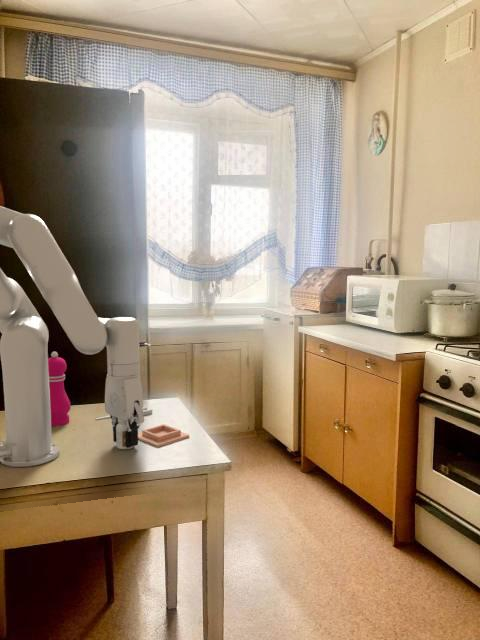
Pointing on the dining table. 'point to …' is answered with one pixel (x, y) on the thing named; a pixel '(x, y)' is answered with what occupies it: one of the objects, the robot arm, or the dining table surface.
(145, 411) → the pliers
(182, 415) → the dining table surface
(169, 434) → the rest
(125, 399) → the robot arm
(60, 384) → the pepper mill
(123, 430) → the pill bottle
